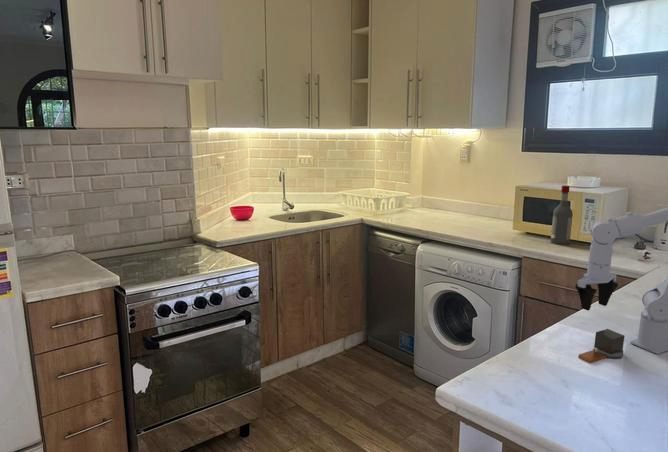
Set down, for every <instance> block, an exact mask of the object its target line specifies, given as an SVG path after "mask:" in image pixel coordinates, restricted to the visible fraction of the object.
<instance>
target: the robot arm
mask: <svg viewBox="0 0 668 452" xmlns="http://www.w3.org/2000/svg"><path fill="white" fill-rule="evenodd" d="M663 223H668V207H663V208H661V209H659V210H658V209H657V210H656V211H655V210H654V211H651V212H648V213H645V214H642V213H640V212H632V211H628V212H626V214H625V215H622V216H617V217H615V218H612V217H608V218H607V220H598V221H596V222H594V224H592V226H591V228H590V233H591V236H592V238H591V240H590V246H589V253H588V262H587V272H586V273H583V277H582V278H580V279H577V283H576V284H575V289H576V291H577V294H578V296H579V300H580V305H581V309H583V310H585V311H590V310H591V307H592V304H593V303H592V302H593V300H594V297H595V295H596V293H597V291H598V294H597V295H598V298H597V301H598V304H599V305H601V306H603V307H606V306H607V305H608V303H609V301H610V298H611V296H612V295H613V293H614V291H615V290H616V289H617V288H618V286H619V283H618V282H616V281H617V276H618V275H617V274H616V273H612V272H611V265H612V258H613V251H614V250H613V244H614V241H615V240H616V239H621V238H625V237H630V236H633V235H637V234H641V233H643V232H645V231H646V229H647V228H648V227H650V226H653V225H654V226H655V225H658V224H663ZM594 285H597V289H596V288H593V287H592V286H594ZM641 301H642V304H643V306H644V309H643V310H642V311H641V312H640V319H639V320H640V321H639V326H638V332H637V333H638V334H637V338H636V339H633V340H630V341H629V343H630V345H631V344H632V345H634V346H636V347H639V348H641V349H644V350H647V351H649V352H651V353H654V354H656V355H659V354H662V353H665V352H667V351H668V276H667V277H666V279H664V281H662V282H659V283H658V284H656V285H655V286H654V287H653V288H651V289H649V290H647V291H645V292H644V293H643V295H642V298H641Z"/></svg>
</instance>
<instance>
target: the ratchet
mask: <svg viewBox="0 0 668 452" xmlns="http://www.w3.org/2000/svg"><path fill="white" fill-rule="evenodd" d="M577 357H578V359H580V360H582V361H584V362H587V363H589V364H592V363H596V362H599V361H601V360H605V359H610V360H611V359H612V360H620V359H622V358H623V357H624V350H623V351H620V352H617V353H614V354H609V353H606V352H604V351H602V350H599V349H597V348H595V347H594V346H593V349H592V350H589V351H585V352H583V353H579V354H578V356H577Z"/></svg>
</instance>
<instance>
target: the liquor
mask: <svg viewBox="0 0 668 452" xmlns="http://www.w3.org/2000/svg"><path fill="white" fill-rule="evenodd" d="M560 192H561V198H560V203H559V205H557V206H556V207H555V208H554V210H553V215H552V223H551V234H550V243H551V244H555V245H563V246H566V245H567V246H568V245H569V244H570V242H571V233H572V227H573V226H572V225H573V217H574V216H573V213H574V212H573V210H572V209H571V207H570V206H569V204H568V203H569V202H568V201H569V199H568V198H569V192H570V185H561V190H560Z"/></svg>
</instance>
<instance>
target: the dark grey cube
mask: <svg viewBox="0 0 668 452" xmlns="http://www.w3.org/2000/svg"><path fill="white" fill-rule="evenodd" d="M624 342H625V335H624V334H622V333H619V332H616V331H614V330H612V329H609V328H605V329H602V330H598V331H596V332H595V338H594V344H593V348H594V347H595V348H597V349H599V350H602V351H604V352H606V353H609V354H614V353H617V352H620V351H623V352H624V344H625V343H624Z"/></svg>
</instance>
